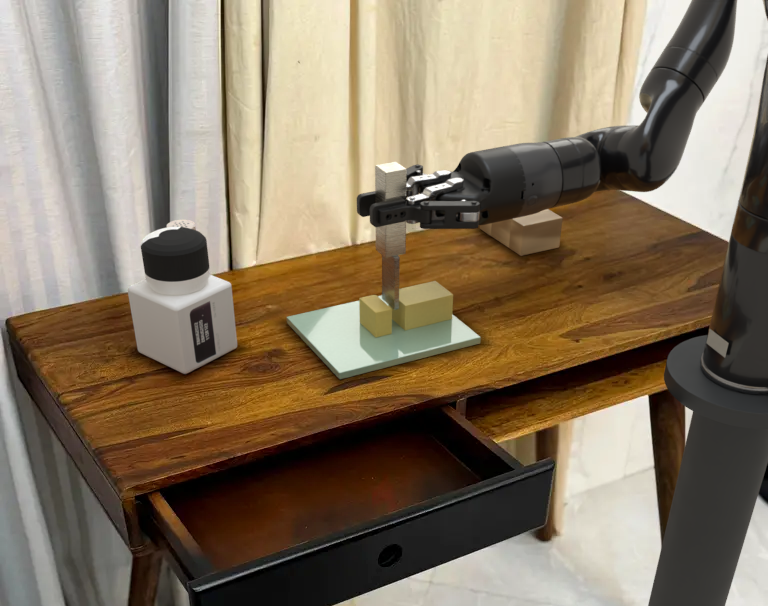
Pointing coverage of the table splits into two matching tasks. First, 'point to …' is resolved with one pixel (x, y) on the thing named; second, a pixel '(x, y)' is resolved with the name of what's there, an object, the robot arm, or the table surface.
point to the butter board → (373, 340)
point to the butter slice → (375, 315)
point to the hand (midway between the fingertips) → (365, 211)
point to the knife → (390, 228)
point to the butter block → (423, 305)
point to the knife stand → (528, 232)
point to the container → (181, 302)
